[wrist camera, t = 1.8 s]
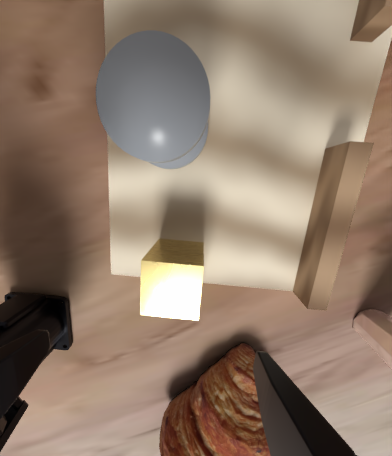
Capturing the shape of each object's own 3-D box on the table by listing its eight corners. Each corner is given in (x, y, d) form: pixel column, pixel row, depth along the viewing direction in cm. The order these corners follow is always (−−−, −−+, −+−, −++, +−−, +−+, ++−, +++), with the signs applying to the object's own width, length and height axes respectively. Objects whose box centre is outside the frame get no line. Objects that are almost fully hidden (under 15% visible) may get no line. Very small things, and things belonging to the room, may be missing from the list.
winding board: (314, 287, 18) (341, 312, 15) (116, 268, 19) (96, 288, 15) (389, -3, 13) (460, -76, 9) (111, -21, 13) (77, -98, 10)
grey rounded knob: (204, 172, 15) (204, 165, 10) (131, 166, 15) (98, 157, 10) (211, 88, 14) (216, 34, 9) (132, 82, 14) (93, 26, 9)
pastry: (131, 377, 22) (92, 481, 14) (250, 334, 20) (280, 429, 12) (191, 465, 25) (186, 590, 17) (299, 436, 23) (348, 563, 16)
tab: (199, 282, 17) (198, 320, 12) (157, 278, 17) (140, 314, 12) (203, 242, 16) (203, 266, 11) (159, 238, 16) (140, 260, 12)
